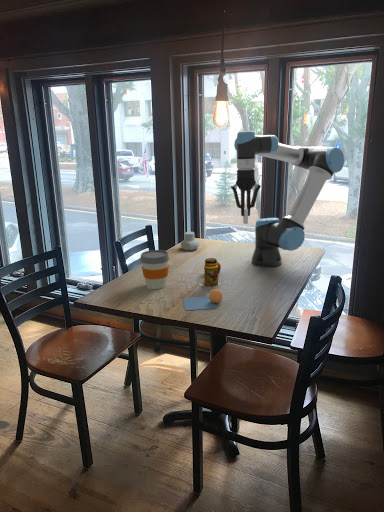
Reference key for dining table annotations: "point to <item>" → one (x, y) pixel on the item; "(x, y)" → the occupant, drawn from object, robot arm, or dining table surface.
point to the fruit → (218, 267)
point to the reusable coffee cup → (155, 268)
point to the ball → (215, 296)
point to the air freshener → (189, 241)
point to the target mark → (198, 303)
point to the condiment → (210, 273)
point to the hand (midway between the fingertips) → (245, 223)
